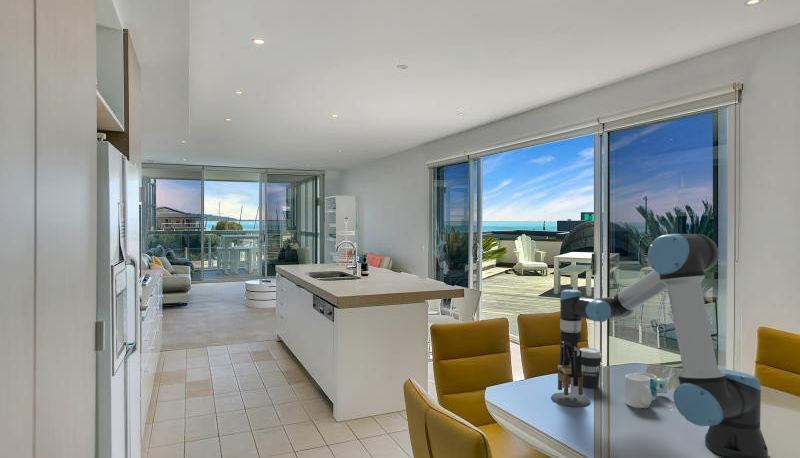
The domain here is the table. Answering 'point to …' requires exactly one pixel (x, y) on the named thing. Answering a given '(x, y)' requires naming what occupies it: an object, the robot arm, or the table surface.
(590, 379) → the coffee cup
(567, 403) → the mat
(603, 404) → the table surface
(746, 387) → the robot arm
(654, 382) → the mug
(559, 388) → the stool
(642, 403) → the mug
